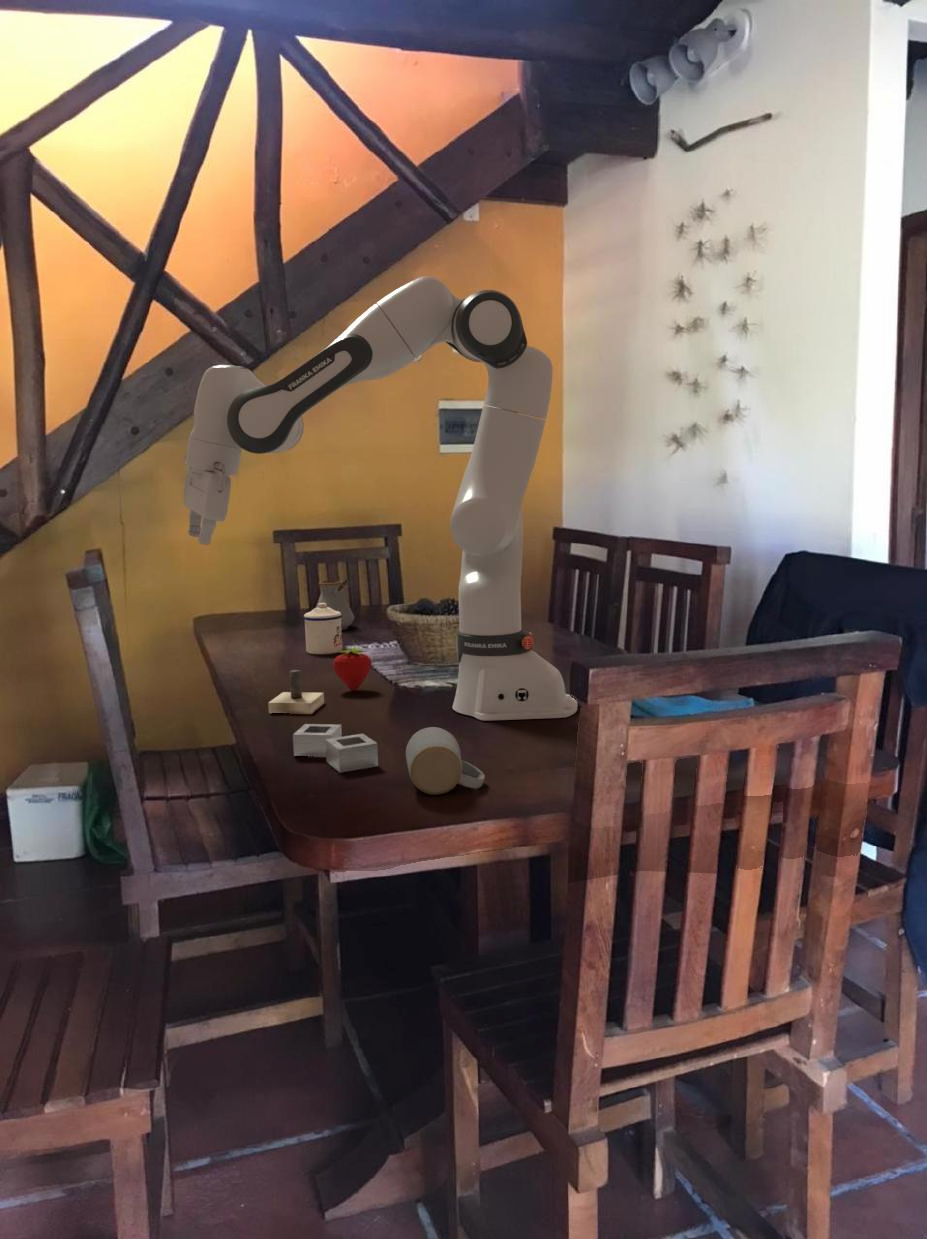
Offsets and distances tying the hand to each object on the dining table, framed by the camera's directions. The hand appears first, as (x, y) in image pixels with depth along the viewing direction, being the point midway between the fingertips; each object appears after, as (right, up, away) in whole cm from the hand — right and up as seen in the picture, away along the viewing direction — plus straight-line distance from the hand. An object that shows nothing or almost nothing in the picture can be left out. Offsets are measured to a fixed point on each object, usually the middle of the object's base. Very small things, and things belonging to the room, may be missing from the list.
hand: (198, 540), depth 167 cm
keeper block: (+15, -30, +12) cm, 36 cm away
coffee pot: (+12, -17, +93) cm, 96 cm away
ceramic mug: (+43, -37, -33) cm, 66 cm away
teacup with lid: (+12, -21, +67) cm, 72 cm away
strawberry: (+24, -28, +25) cm, 44 cm away
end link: (+23, -34, -15) cm, 44 cm away
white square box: (+29, -35, -22) cm, 51 cm away
